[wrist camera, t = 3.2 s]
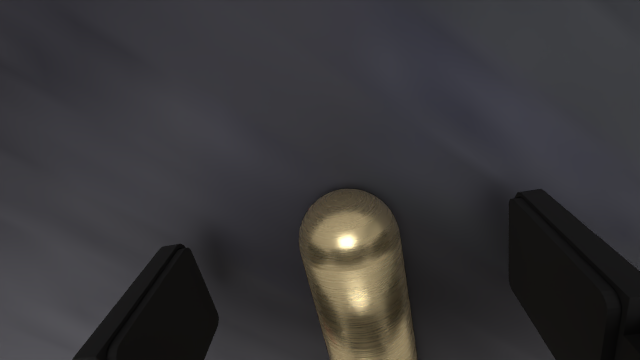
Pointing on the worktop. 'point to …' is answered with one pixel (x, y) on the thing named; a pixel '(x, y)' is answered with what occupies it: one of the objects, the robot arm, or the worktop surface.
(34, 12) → the worktop surface
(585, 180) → the worktop surface
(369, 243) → the brass roller
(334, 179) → the worktop surface
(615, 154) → the worktop surface
